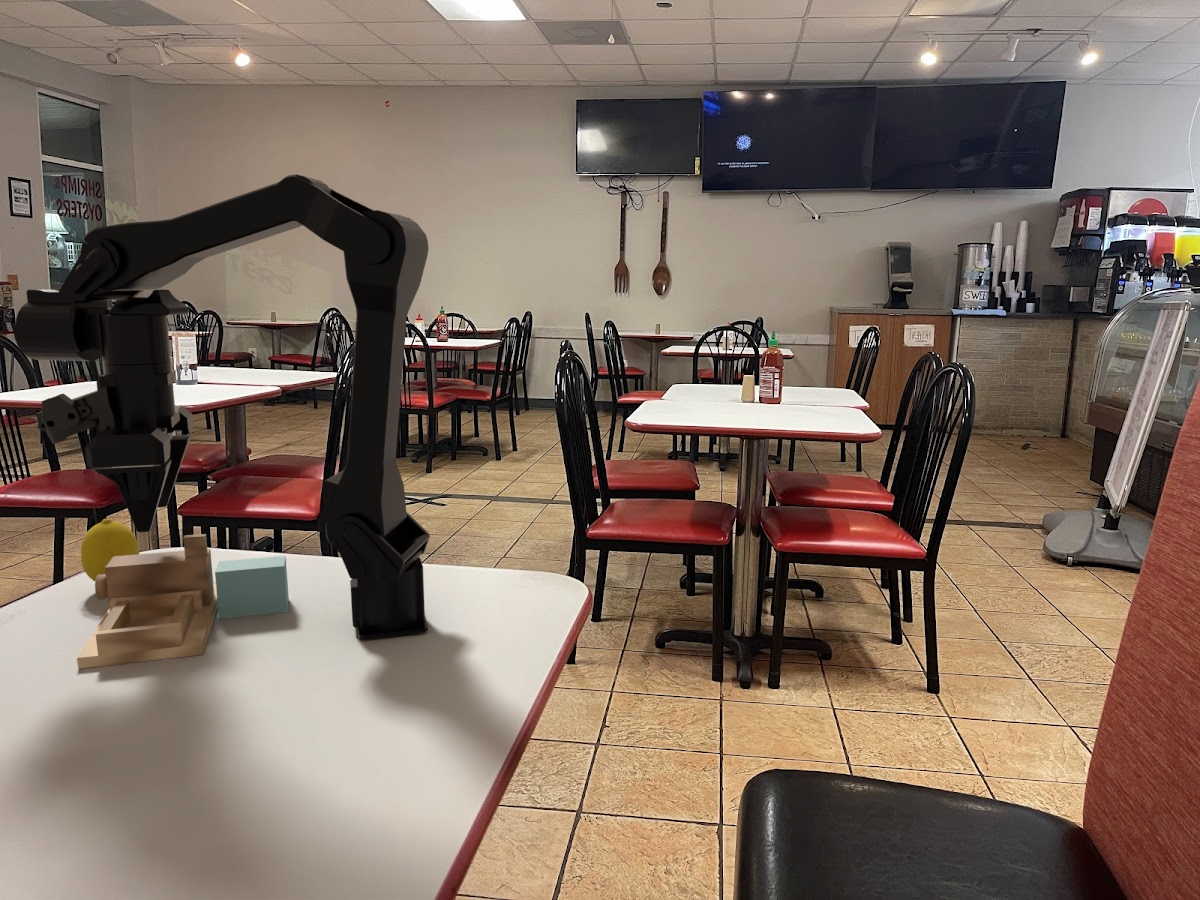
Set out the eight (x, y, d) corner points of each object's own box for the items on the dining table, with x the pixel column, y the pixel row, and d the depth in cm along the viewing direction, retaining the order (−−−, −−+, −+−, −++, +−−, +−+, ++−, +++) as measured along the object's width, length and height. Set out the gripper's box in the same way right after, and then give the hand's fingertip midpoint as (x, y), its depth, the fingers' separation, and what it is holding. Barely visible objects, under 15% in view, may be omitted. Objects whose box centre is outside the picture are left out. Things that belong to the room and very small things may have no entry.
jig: (223, 590, 94) (221, 564, 93) (202, 654, 78) (199, 623, 77) (121, 599, 91) (118, 573, 90) (78, 668, 75) (74, 636, 74)
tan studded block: (214, 594, 90) (208, 530, 88) (210, 606, 87) (204, 539, 85) (105, 604, 87) (97, 538, 85) (96, 617, 83) (88, 548, 82)
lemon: (125, 598, 91) (117, 526, 90) (74, 597, 91) (65, 525, 90) (152, 580, 97) (145, 512, 95) (104, 579, 97) (96, 511, 95)
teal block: (223, 606, 89) (219, 561, 88) (288, 600, 91) (285, 555, 90) (219, 619, 86) (215, 572, 85) (287, 612, 88) (284, 566, 87)
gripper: (69, 355, 88) (85, 501, 91) (6, 374, 71) (29, 554, 74) (187, 353, 92) (199, 494, 95) (155, 372, 74) (171, 543, 77)
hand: (152, 518), depth 85 cm, fingers open, 9 cm apart
